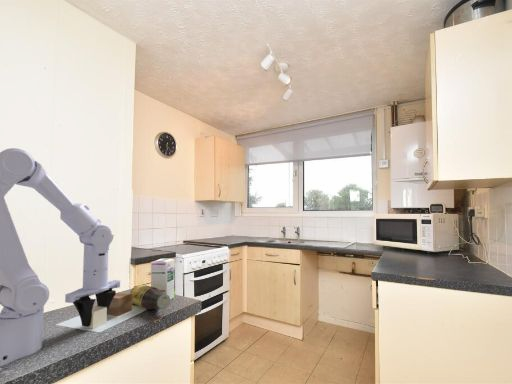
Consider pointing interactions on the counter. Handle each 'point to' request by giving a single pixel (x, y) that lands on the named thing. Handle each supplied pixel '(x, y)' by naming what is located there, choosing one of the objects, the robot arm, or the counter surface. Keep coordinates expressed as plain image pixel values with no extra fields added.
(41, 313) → the robot arm
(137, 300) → the sauce bottle
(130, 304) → the walnut block
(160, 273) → the syrup box
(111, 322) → the board
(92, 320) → the cream block
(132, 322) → the counter surface
